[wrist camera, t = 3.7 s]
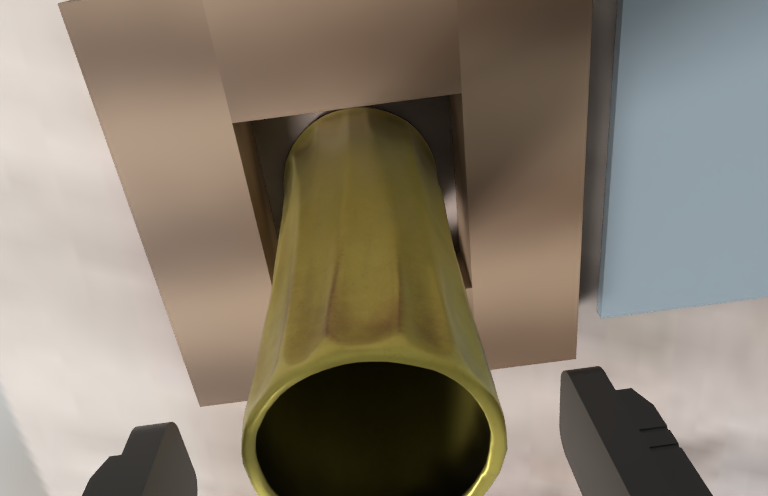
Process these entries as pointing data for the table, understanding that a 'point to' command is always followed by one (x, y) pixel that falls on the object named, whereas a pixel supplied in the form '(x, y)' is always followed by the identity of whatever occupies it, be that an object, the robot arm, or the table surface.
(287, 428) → the vase
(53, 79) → the table surface
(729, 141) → the mat
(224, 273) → the pocket block
